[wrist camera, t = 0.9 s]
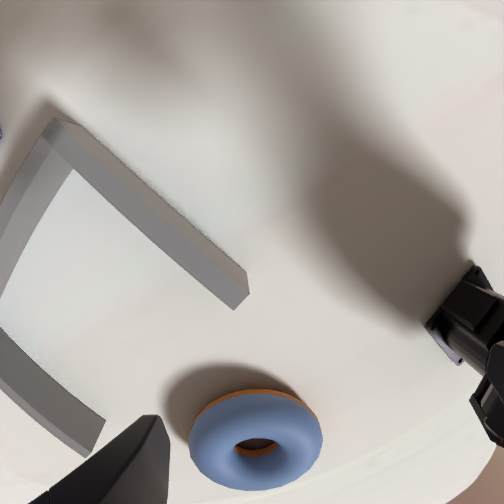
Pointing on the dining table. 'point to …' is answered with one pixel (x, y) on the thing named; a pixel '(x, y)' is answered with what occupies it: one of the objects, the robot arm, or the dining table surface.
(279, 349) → the dining table surface
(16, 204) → the box
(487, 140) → the dining table surface
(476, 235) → the dining table surface
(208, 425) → the doughnut
